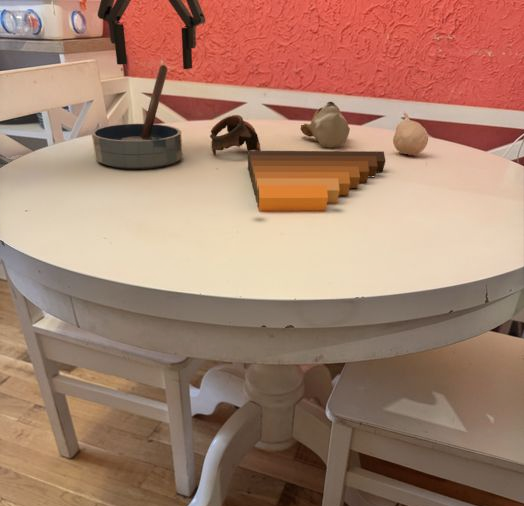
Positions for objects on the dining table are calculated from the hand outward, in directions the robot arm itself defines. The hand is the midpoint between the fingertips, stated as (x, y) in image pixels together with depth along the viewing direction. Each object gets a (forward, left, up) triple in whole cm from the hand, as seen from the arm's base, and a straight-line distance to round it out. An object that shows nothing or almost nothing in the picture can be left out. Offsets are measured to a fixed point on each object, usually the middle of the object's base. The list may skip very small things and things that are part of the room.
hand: (154, 66), depth 96 cm
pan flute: (+37, -17, -15) cm, 43 cm away
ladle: (0, -5, -14) cm, 15 cm away
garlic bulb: (+50, +12, -15) cm, 54 cm away
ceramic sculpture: (+32, +17, -15) cm, 40 cm away
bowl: (0, -11, -15) cm, 18 cm away
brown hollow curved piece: (+16, 0, -15) cm, 22 cm away
